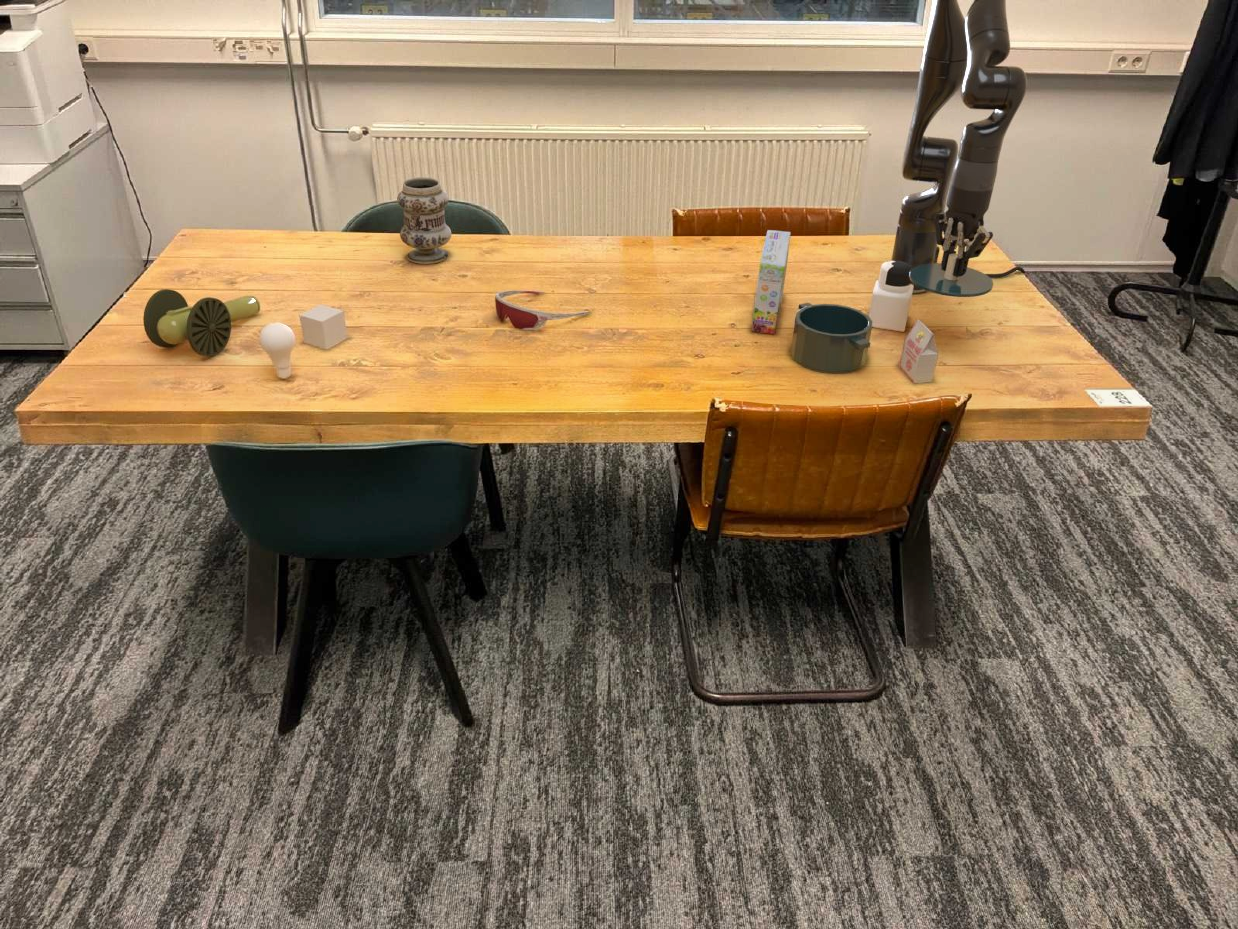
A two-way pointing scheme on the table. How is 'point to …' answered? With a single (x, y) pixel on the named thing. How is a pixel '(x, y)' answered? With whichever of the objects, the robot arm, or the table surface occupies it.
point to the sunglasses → (525, 312)
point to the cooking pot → (830, 338)
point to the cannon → (194, 320)
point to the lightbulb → (278, 347)
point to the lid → (950, 280)
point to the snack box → (771, 281)
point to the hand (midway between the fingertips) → (952, 272)
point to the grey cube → (323, 326)
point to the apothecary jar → (424, 220)
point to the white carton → (919, 354)
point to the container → (891, 296)
